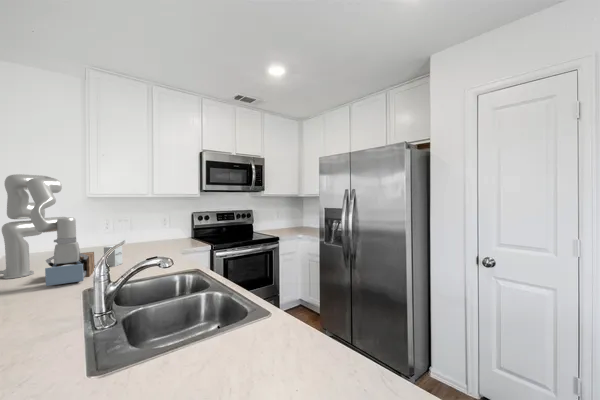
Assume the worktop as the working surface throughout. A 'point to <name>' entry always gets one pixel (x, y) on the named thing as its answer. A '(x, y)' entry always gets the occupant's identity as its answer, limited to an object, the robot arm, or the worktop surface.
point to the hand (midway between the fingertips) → (68, 273)
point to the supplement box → (114, 256)
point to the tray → (64, 274)
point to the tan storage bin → (85, 263)
